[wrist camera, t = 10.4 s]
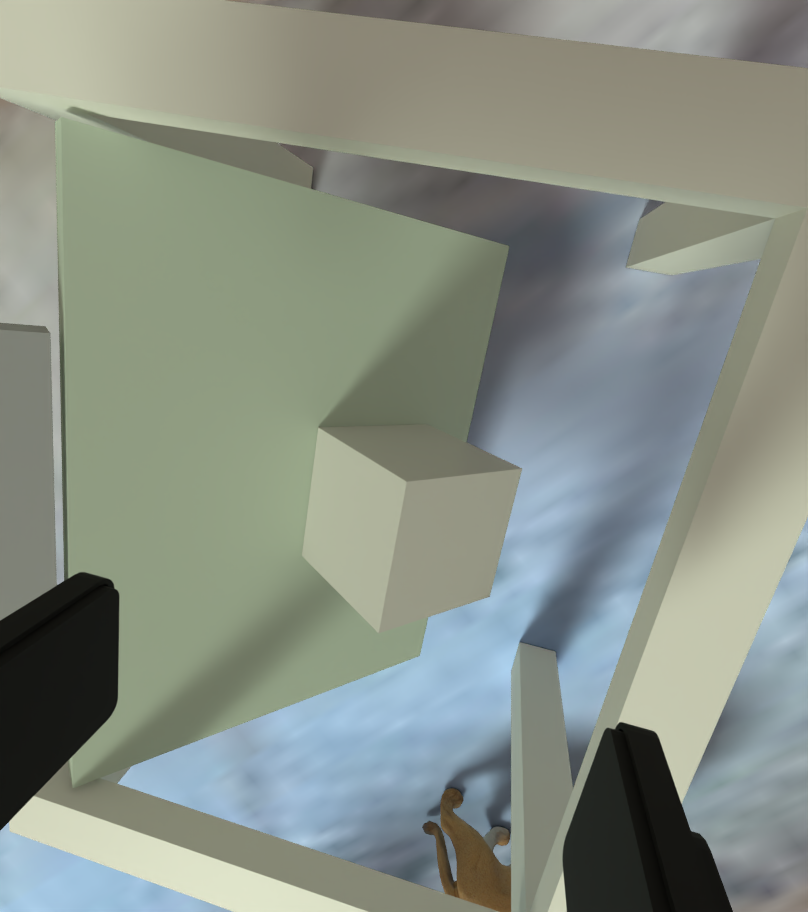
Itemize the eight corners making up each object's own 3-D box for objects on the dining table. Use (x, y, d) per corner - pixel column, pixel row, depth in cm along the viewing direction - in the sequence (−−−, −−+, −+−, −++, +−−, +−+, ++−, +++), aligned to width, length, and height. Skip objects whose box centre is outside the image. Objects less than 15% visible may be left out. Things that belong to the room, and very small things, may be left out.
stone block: (427, 424, 22) (522, 468, 18) (405, 535, 23) (489, 596, 19) (318, 427, 18) (406, 482, 15) (301, 555, 20) (378, 633, 16)
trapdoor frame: (687, 226, 23) (995, 89, 8) (546, 680, 30) (579, 1035, 16) (273, 161, 26) (-47, -32, 11) (234, 595, 33) (10, 831, 18)
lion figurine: (655, 764, 30) (711, 944, 22) (674, 838, 31) (735, 1036, 23) (412, 788, 34) (379, 948, 26) (437, 853, 35) (413, 1028, 27)
